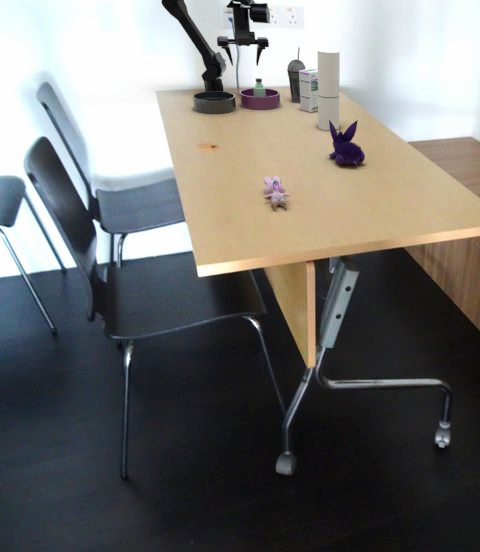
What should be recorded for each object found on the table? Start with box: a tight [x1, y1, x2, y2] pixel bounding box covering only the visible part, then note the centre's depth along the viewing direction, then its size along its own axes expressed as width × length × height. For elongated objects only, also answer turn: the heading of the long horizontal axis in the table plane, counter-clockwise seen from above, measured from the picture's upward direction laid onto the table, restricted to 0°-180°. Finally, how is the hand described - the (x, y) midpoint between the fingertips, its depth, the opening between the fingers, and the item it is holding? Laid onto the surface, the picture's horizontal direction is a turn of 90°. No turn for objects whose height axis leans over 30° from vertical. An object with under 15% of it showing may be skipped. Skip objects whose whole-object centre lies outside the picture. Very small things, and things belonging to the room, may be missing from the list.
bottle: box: [252, 77, 266, 97], centre depth 211 cm, size 4×4×10 cm
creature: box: [328, 119, 366, 166], centre depth 165 cm, size 9×18×12 cm, turn 27°
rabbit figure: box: [263, 175, 291, 210], centre depth 140 cm, size 6×6×15 cm
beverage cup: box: [286, 46, 307, 104], centre depth 219 cm, size 7×7×20 cm
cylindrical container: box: [317, 48, 341, 131], centre depth 190 cm, size 7×7×25 cm
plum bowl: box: [238, 87, 281, 111], centre depth 213 cm, size 15×15×5 cm
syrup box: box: [299, 67, 318, 113], centre depth 211 cm, size 6×6×14 cm
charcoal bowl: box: [192, 90, 237, 115], centre depth 205 cm, size 15×15×5 cm
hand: (244, 65), depth 219 cm, fingers open, 9 cm apart
